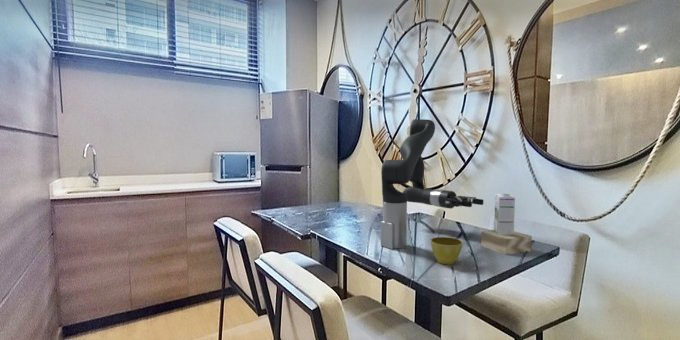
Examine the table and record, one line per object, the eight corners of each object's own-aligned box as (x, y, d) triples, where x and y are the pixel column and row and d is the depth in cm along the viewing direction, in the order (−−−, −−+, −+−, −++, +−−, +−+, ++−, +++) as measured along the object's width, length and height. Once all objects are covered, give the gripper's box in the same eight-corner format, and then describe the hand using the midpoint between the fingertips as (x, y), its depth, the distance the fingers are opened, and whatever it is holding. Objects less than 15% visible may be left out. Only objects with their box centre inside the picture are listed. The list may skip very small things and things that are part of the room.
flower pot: (464, 268, 110) (464, 245, 110) (431, 266, 112) (431, 244, 112) (459, 258, 120) (459, 237, 120) (429, 256, 122) (429, 236, 121)
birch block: (505, 255, 124) (506, 239, 123) (481, 246, 135) (481, 231, 135) (531, 252, 128) (531, 236, 128) (505, 243, 139) (505, 228, 139)
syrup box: (514, 235, 128) (516, 196, 126) (497, 234, 129) (499, 196, 127) (509, 230, 134) (511, 193, 132) (493, 230, 135) (494, 193, 133)
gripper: (433, 191, 148) (467, 195, 135) (452, 188, 157) (487, 192, 144) (432, 209, 148) (467, 214, 136) (452, 205, 157) (486, 210, 144)
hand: (477, 203), depth 140 cm, fingers open, 8 cm apart
